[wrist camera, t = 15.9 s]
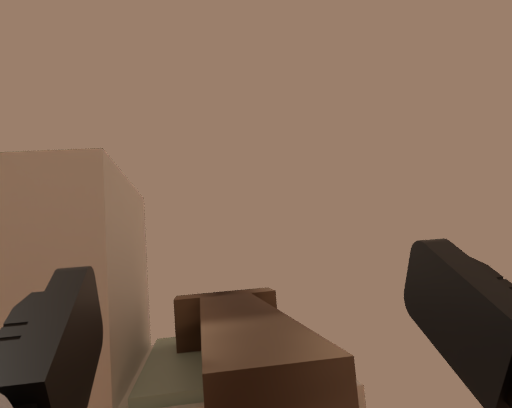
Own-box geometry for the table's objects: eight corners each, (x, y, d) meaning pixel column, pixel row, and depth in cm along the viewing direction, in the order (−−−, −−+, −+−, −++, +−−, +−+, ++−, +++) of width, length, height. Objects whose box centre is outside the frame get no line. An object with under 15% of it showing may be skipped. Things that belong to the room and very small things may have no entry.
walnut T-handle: (127, 561, 7) (120, 383, 8) (179, 343, 27) (176, 295, 27) (443, 505, 8) (423, 347, 9) (271, 333, 28) (267, 287, 28)
